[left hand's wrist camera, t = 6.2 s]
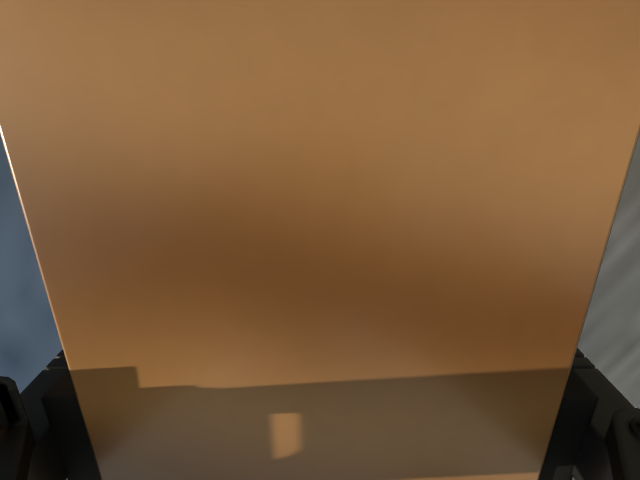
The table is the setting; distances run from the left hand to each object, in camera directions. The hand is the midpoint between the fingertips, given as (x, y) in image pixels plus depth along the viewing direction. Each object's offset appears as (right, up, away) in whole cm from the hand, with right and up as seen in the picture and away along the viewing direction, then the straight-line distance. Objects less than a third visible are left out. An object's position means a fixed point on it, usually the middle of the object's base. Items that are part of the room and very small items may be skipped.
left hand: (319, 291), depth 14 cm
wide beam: (0, +21, -8) cm, 22 cm away
